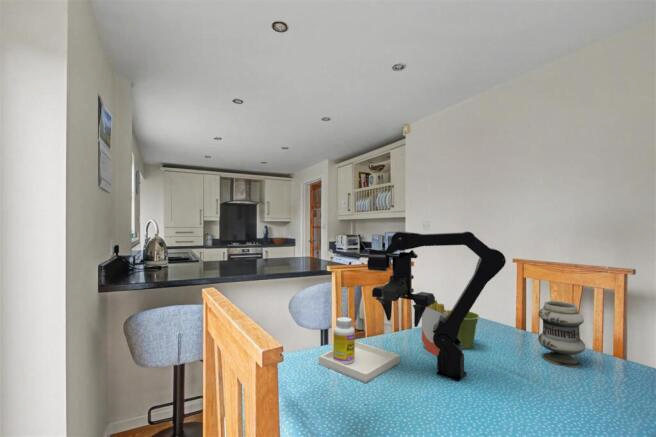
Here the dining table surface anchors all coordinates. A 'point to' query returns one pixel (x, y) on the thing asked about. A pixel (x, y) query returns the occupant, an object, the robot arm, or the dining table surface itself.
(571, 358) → the apothecary jar
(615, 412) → the dining table surface
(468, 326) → the plant pot
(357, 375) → the tray
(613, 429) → the dining table surface
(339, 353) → the supplement bottle
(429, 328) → the french fries container
